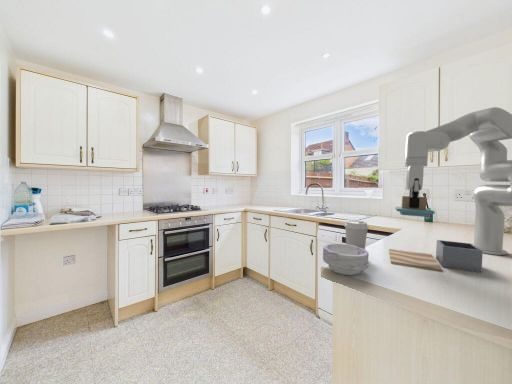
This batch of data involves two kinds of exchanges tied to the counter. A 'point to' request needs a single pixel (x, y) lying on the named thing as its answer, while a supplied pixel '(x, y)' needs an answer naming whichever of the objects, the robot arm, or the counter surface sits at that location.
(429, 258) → the wooden board
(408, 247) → the counter surface
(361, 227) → the coffee cup
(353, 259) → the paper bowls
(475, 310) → the counter surface
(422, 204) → the lid
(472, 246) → the tin
